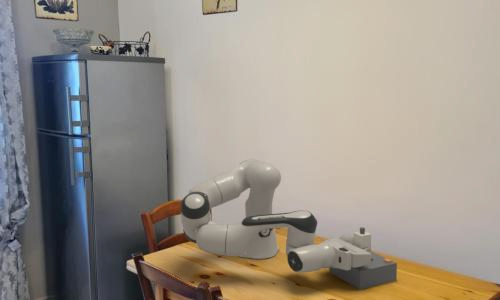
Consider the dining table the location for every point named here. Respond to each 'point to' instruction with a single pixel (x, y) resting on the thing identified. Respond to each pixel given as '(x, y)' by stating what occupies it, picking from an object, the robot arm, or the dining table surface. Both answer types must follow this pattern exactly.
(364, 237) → the plug
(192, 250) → the dining table surface
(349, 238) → the light bulb
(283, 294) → the dining table surface
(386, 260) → the socket housing
